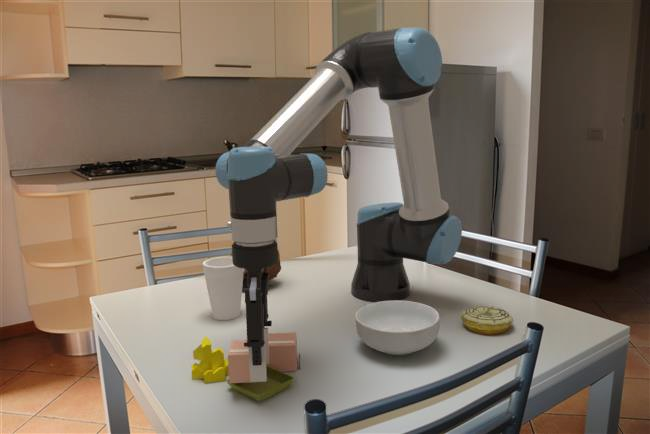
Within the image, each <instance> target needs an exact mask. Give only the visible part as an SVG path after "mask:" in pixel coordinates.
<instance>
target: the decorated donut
mask: <svg viewBox="0 0 650 434" xmlns="http://www.w3.org/2000/svg"><path fill="white" fill-rule="evenodd" d="M461 321H462V323H463V325H464V327H466V328H467V330H469V331H471V332H473V333H475V334H476V333H477V334H482V335H491V336H493V335H498V334H504V333H506V332H507V331H508V330H509V329H510V327H511V325H513V322H514V318H513V317H512V314H510V313H509V312H508V311H506V310H504V309H503V308H499V307H496V306H495V305H494V306H492V305H479V306H478V305H477V306H471V307H468V308H466V309H464V310H463V311H462V312H461Z"/></svg>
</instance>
